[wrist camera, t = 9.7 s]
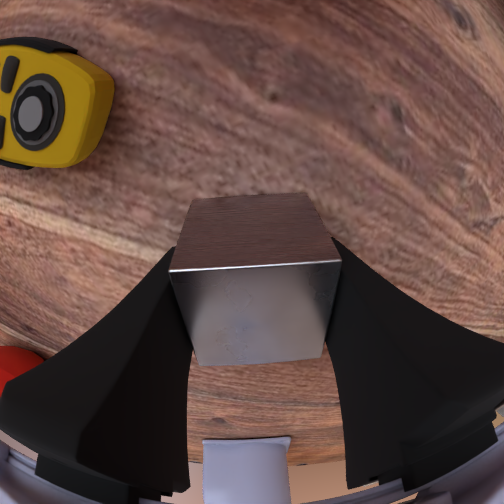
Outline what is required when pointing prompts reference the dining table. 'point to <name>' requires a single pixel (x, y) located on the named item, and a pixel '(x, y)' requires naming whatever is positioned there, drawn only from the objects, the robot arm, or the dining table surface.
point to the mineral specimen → (501, 411)
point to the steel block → (255, 279)
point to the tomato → (15, 363)
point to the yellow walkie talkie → (49, 104)
